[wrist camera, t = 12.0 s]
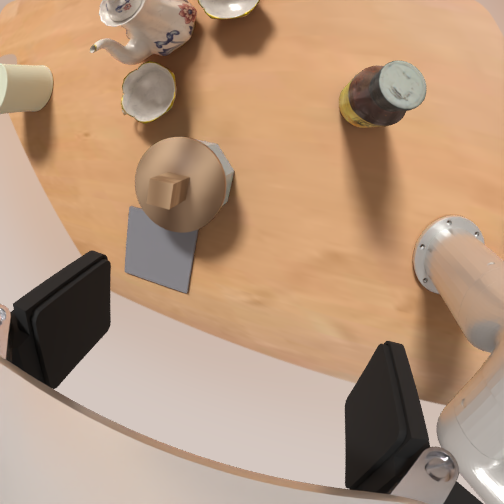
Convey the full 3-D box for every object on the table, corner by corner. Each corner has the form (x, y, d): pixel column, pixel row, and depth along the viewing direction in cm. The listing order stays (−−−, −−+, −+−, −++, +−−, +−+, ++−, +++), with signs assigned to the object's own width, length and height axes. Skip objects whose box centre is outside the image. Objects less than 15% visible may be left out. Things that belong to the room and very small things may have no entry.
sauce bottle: (346, 133, 40) (372, 135, 22) (330, 89, 38) (343, 58, 20) (391, 120, 38) (447, 117, 20) (375, 77, 36) (420, 42, 18)
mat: (199, 225, 49) (197, 226, 48) (188, 291, 53) (186, 293, 53) (131, 206, 50) (129, 206, 49) (126, 270, 54) (124, 271, 54)
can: (42, 56, 42) (-5, 52, 31) (60, 85, 44) (11, 84, 33) (18, 91, 45) (-27, 94, 34) (35, 121, 47) (-12, 127, 36)
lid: (235, 147, 38) (222, 150, 32) (216, 241, 42) (201, 258, 37) (145, 129, 39) (121, 131, 33) (134, 217, 44) (110, 230, 38)
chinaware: (176, 139, 46) (127, 156, 31) (97, 90, 43) (30, 93, 28) (282, -8, 35) (280, -58, 20) (191, -49, 32) (155, -98, 17)
